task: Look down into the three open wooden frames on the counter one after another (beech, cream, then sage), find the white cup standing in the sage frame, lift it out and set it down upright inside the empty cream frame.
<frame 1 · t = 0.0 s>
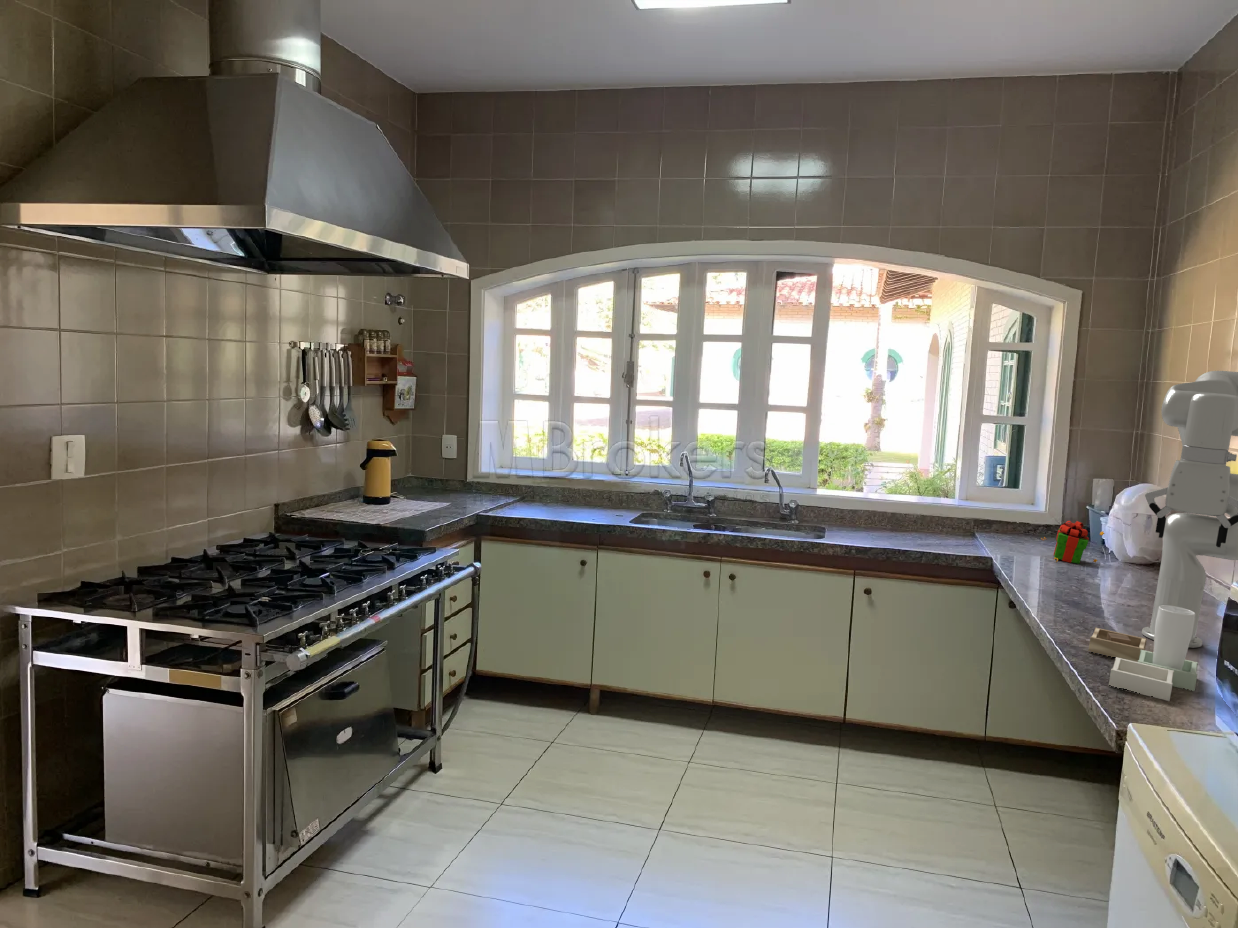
hand: (1189, 541, 171), 31 cm above the worktop, tool pointing down, fingers open, 9 cm apart
frame C cream: (1140, 686, 176), on the worktop
gift wrap: (1068, 560, 299), on the worktop
frame B sage: (1165, 677, 183), on the worktop
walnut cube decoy: (1116, 653, 198), resting in frame A beech
white cup: (1165, 678, 183), resting in frame B sage
frame A beech: (1116, 652, 198), on the worktop
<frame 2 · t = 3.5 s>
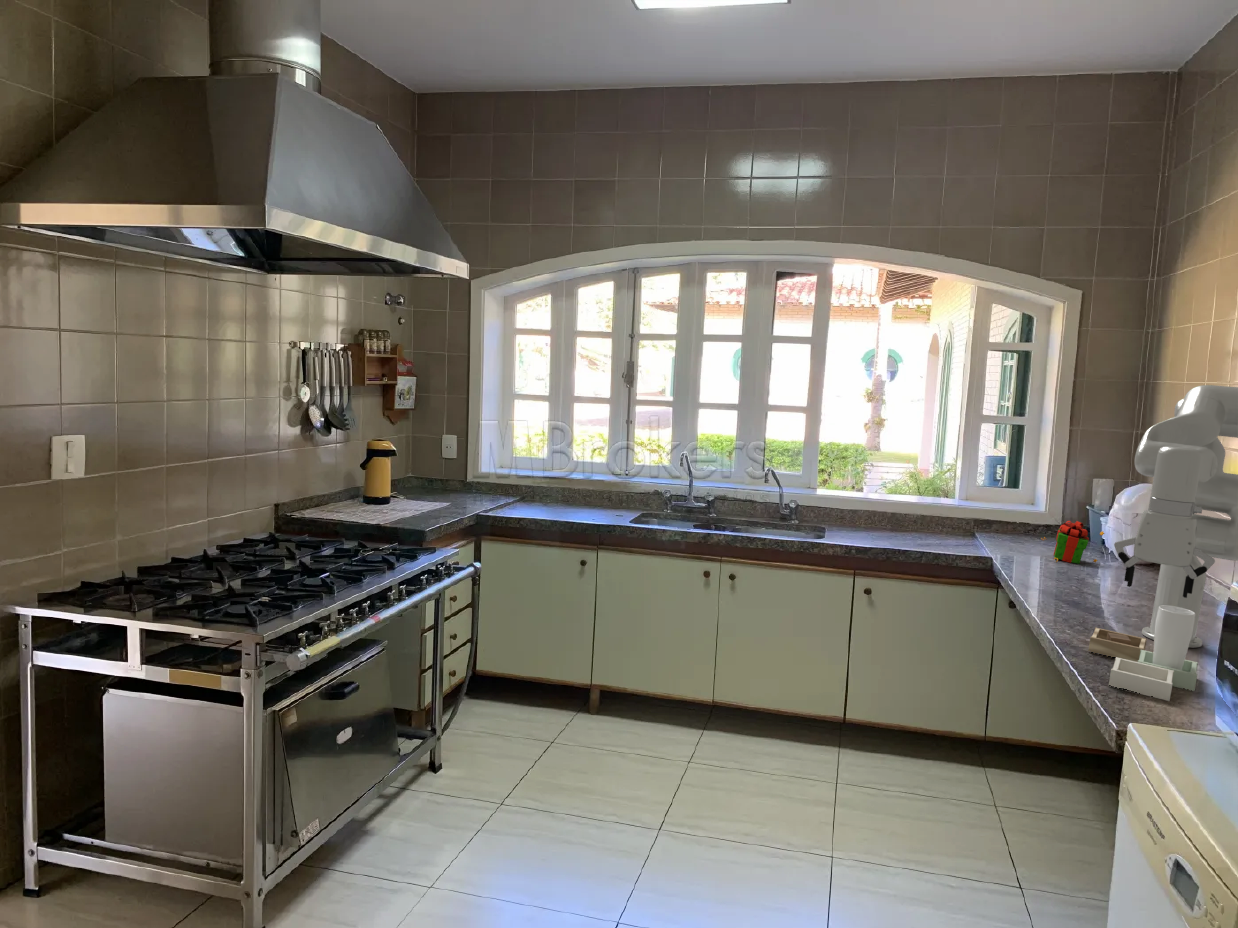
hand: (1156, 590, 174), 20 cm above the worktop, tool pointing down, fingers open, 9 cm apart
nothing on the worktop moved.
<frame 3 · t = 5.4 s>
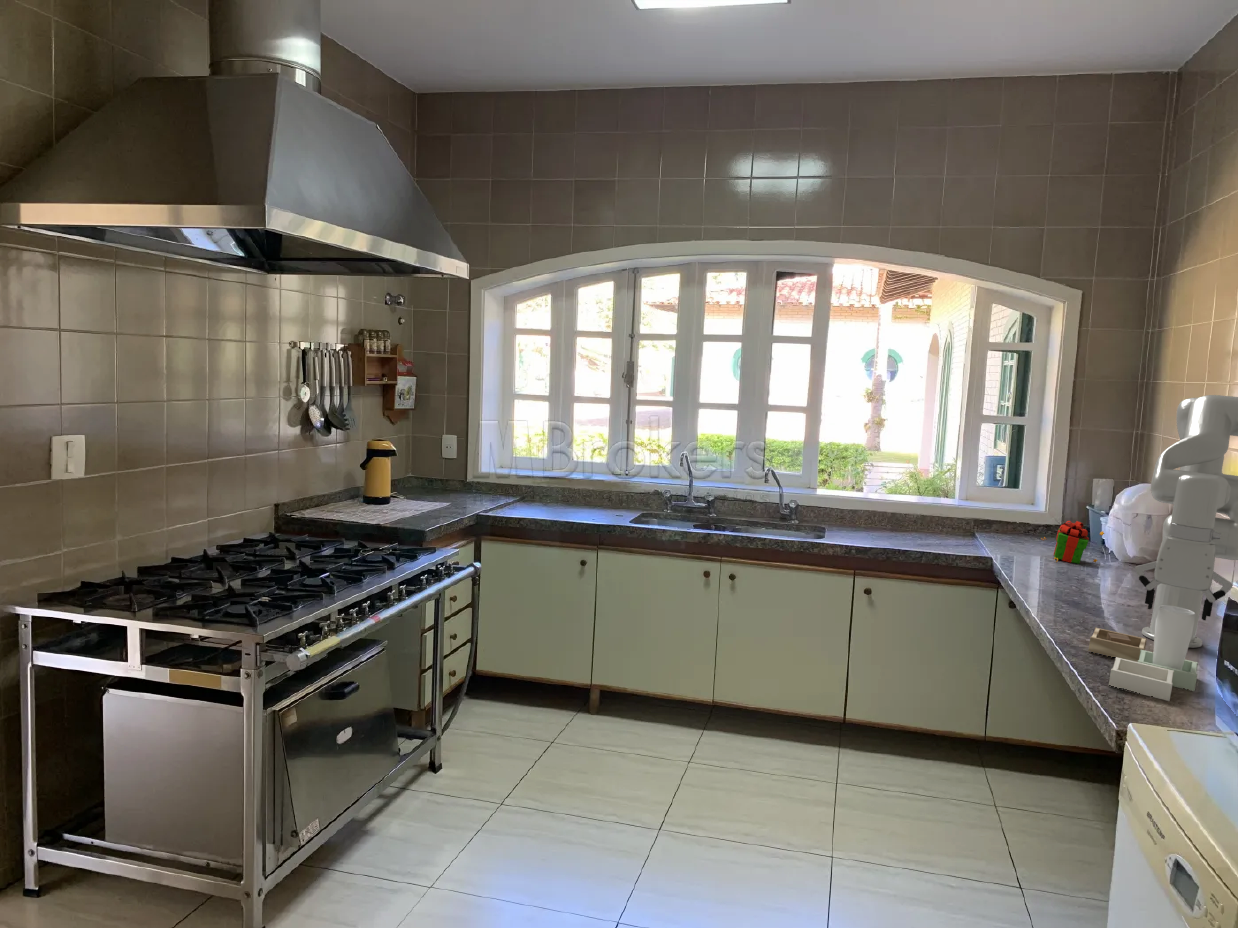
hand: (1176, 613, 181), 14 cm above the worktop, tool pointing down, fingers open, 9 cm apart
nothing on the worktop moved.
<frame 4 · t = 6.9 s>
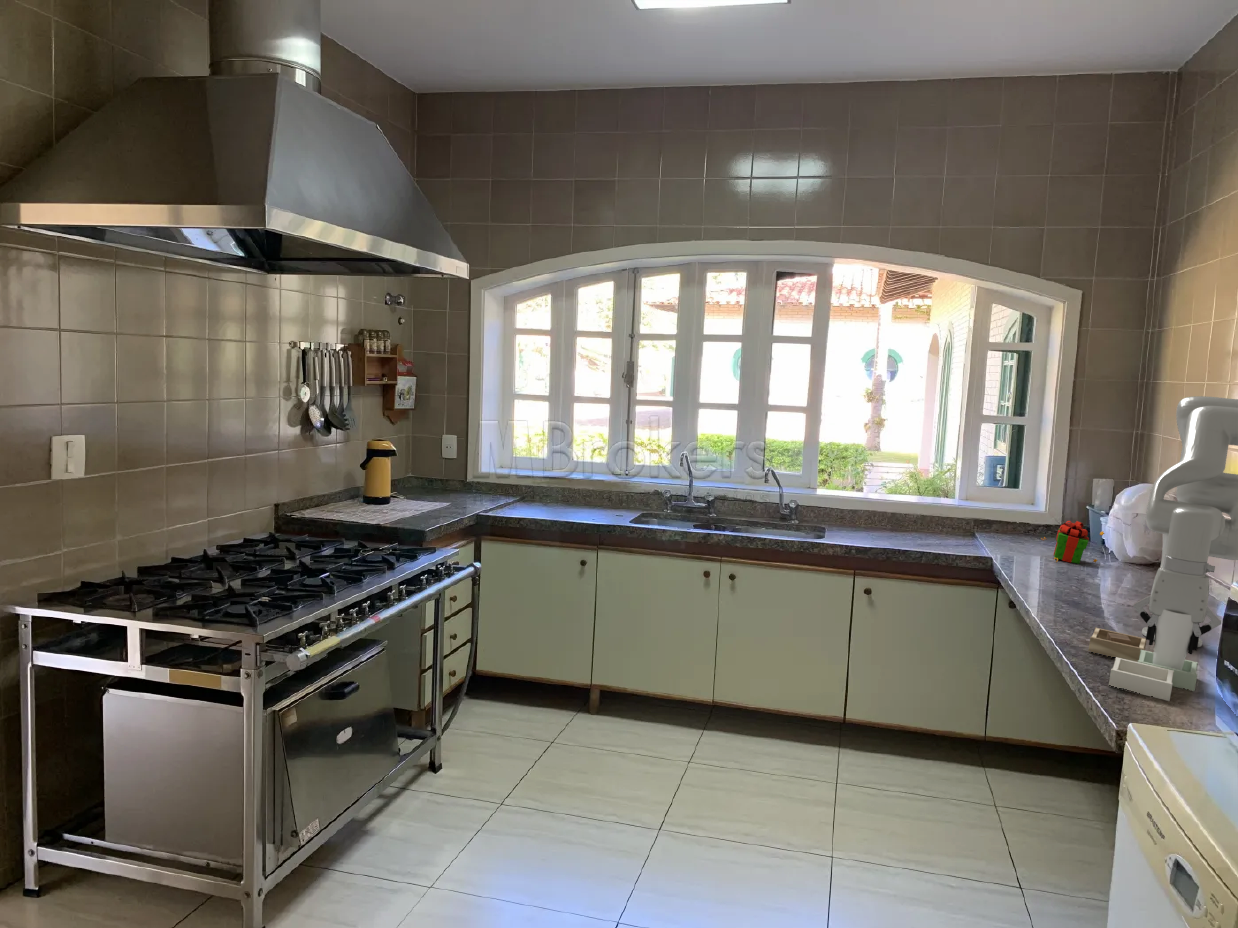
hand: (1170, 647, 182), 7 cm above the worktop, tool pointing down, fingers closed on white cup, 6 cm apart
white cup: (1165, 678, 183), resting in frame B sage, touching gripper
everything else where it was.
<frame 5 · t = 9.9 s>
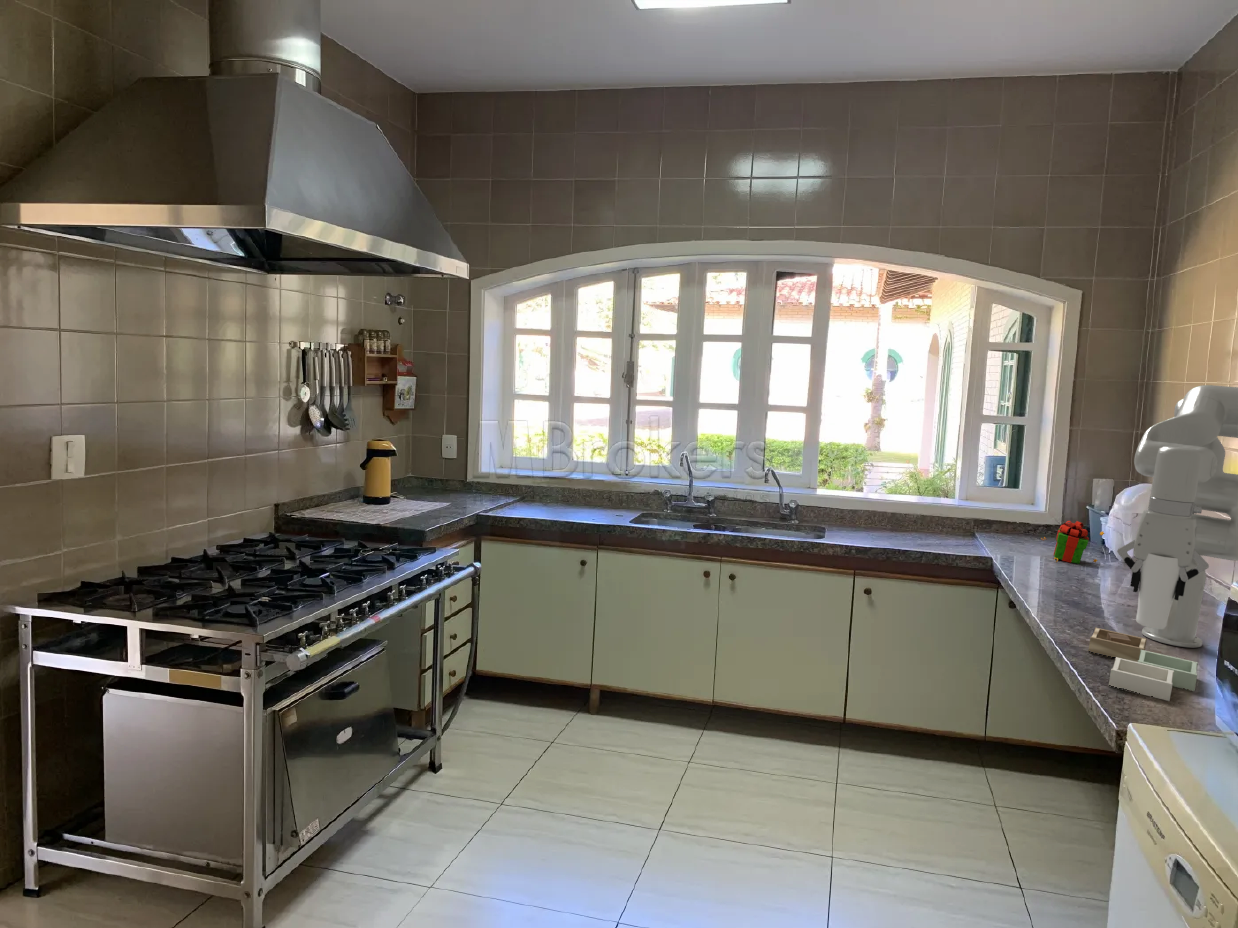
hand: (1155, 594, 174), 20 cm above the worktop, tool pointing down, fingers closed on white cup, 6 cm apart
white cup: (1150, 626, 175), point 13 cm above the worktop, touching gripper
everything else where it was.
when the fingers open (8 cm above the worktop, at t = 12.8 s): white cup drops 1 cm, resting in frame C cream.
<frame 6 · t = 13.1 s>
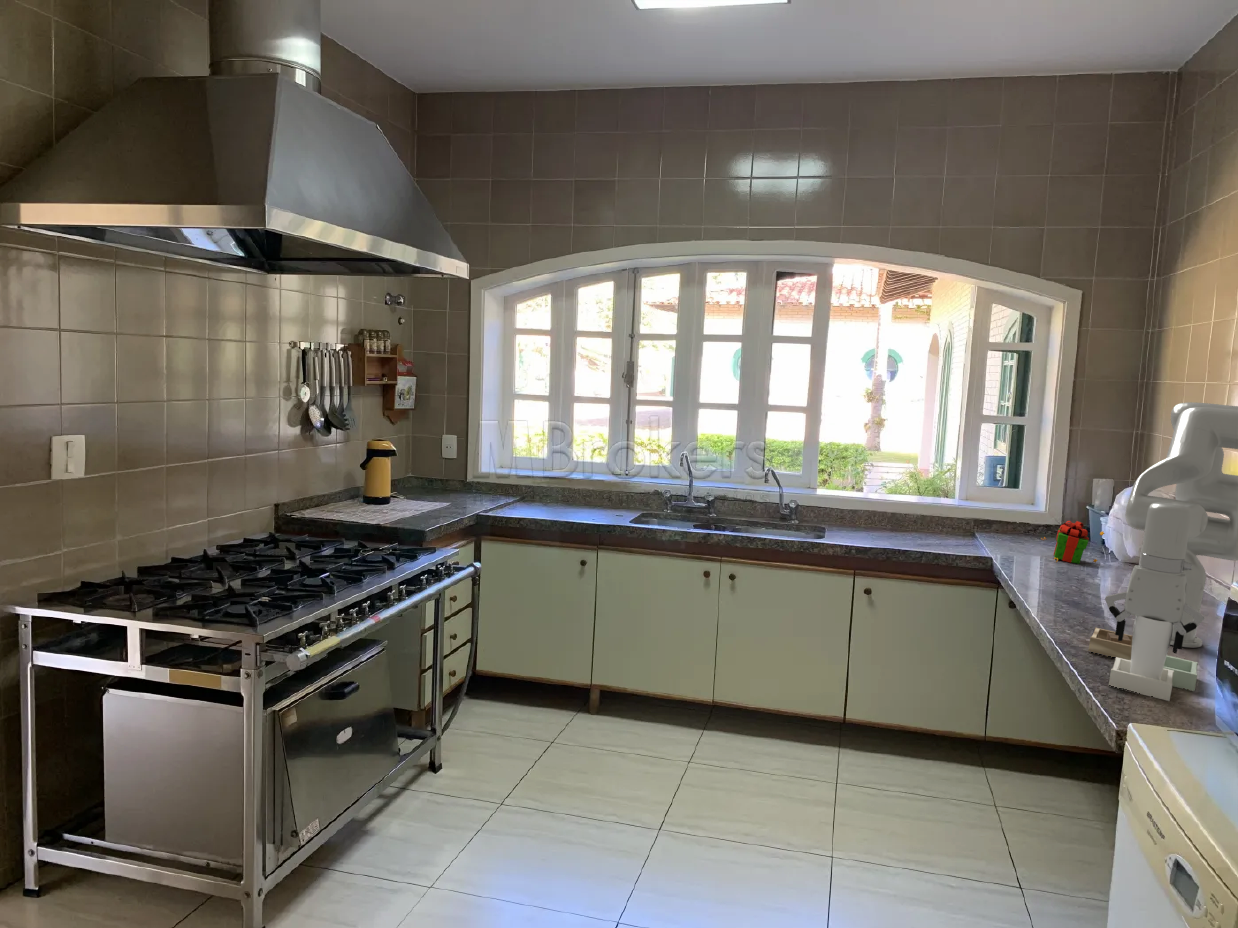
hand: (1147, 645, 175), 9 cm above the worktop, tool pointing down, fingers open, 9 cm apart
white cup: (1142, 687, 176), resting in frame C cream
everything else where it was.
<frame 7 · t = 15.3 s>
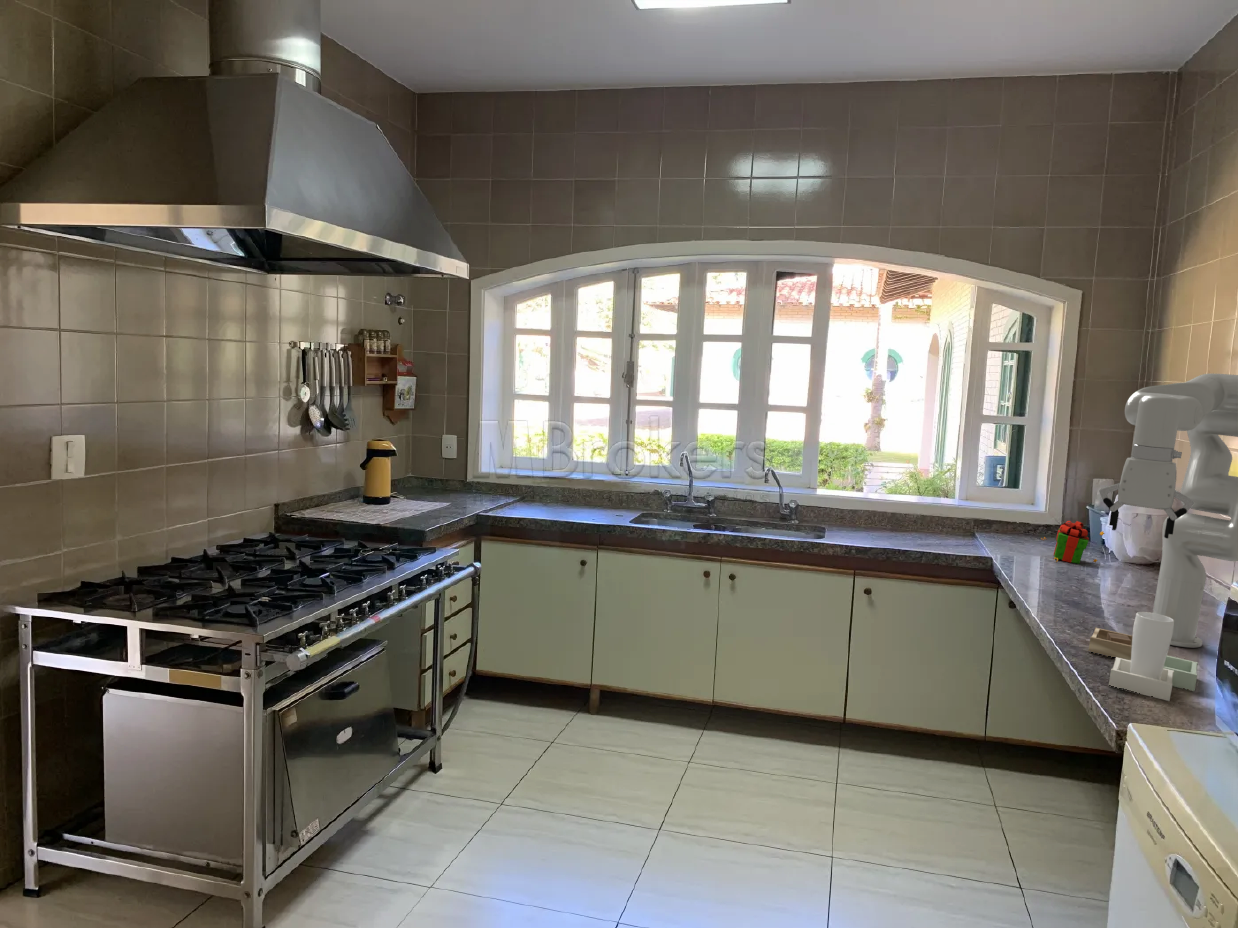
hand: (1139, 533, 184), 30 cm above the worktop, tool pointing down, fingers open, 9 cm apart
nothing on the worktop moved.
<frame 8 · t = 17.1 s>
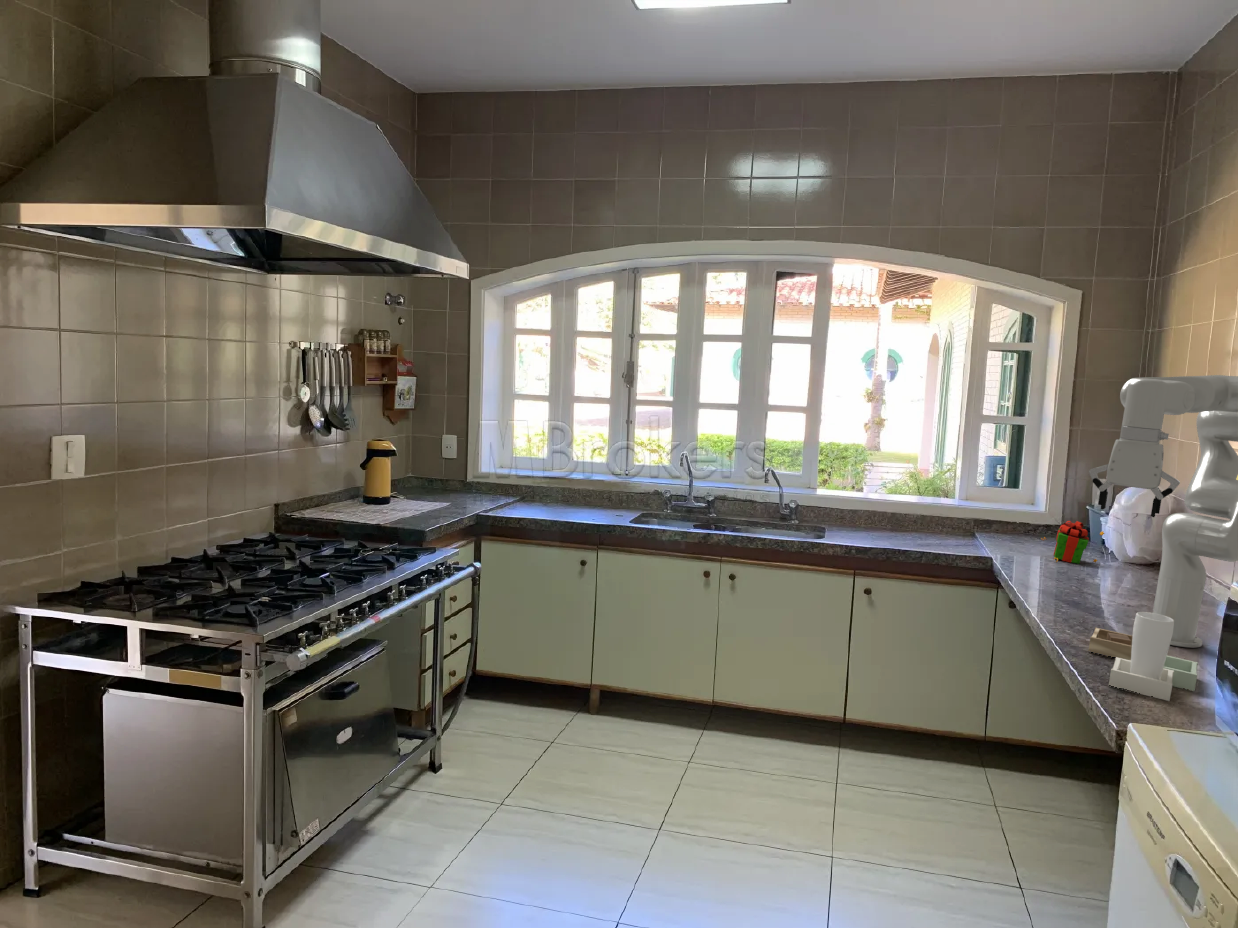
hand: (1127, 512, 190), 33 cm above the worktop, tool pointing down, fingers open, 9 cm apart
nothing on the worktop moved.
at the end: white cup inside the target area on the frame C cream (0.5 cm from its centre), point 0.0 cm above the frame C cream's base; white cup tilted 0°; the gripper is holding nothing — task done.
